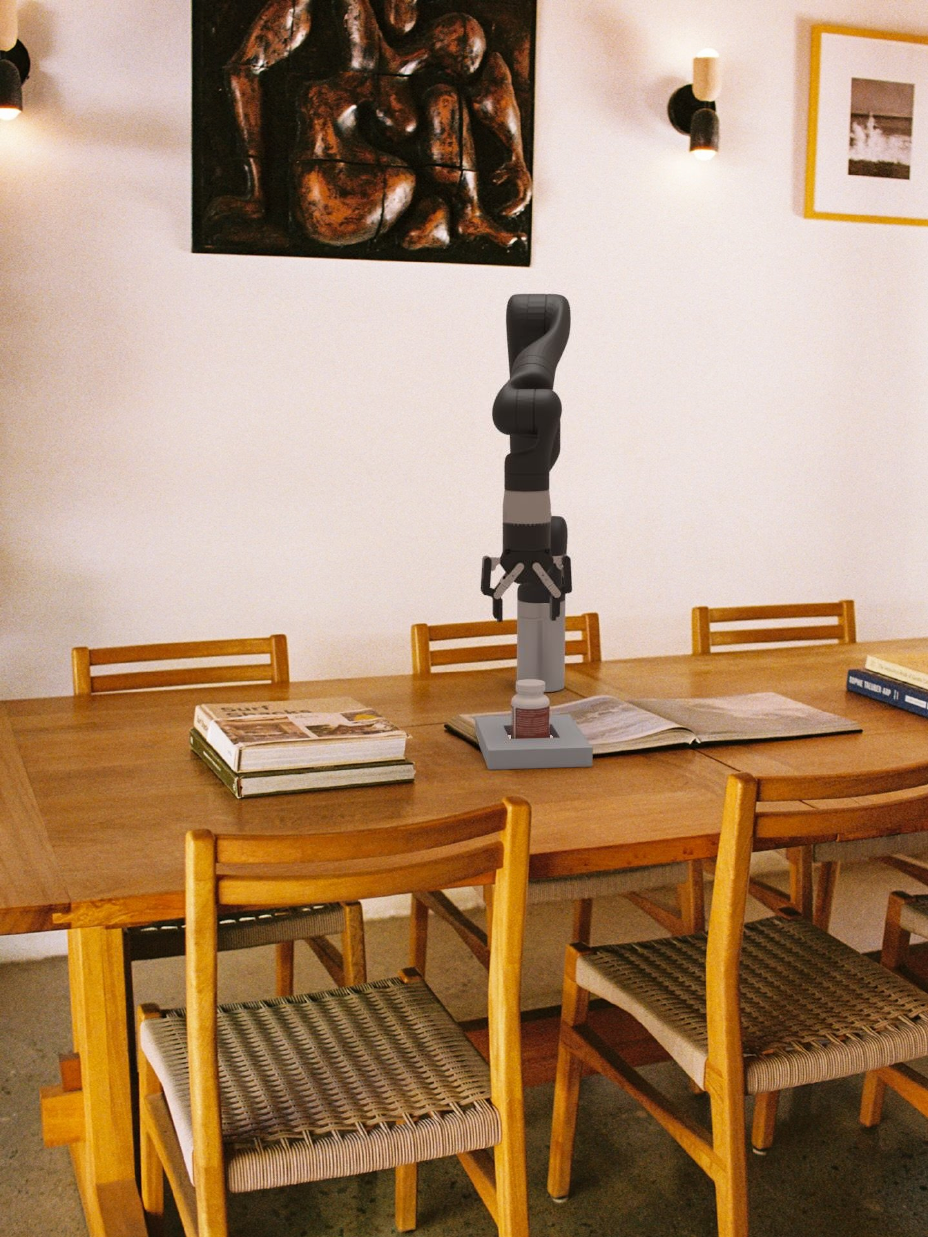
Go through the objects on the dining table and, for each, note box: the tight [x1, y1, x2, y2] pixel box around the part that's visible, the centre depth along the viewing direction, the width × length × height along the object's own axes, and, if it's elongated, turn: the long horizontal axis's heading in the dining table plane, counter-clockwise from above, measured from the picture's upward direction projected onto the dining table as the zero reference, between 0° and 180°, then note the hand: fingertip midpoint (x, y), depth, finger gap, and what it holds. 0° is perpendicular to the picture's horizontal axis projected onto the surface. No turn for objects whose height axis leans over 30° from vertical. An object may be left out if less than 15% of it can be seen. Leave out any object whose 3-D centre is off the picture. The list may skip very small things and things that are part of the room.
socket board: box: [474, 713, 594, 770], centre depth 200 cm, size 20×16×3 cm
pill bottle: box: [510, 679, 551, 739], centre depth 200 cm, size 6×6×11 cm
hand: (526, 620), depth 199 cm, fingers open, 8 cm apart
